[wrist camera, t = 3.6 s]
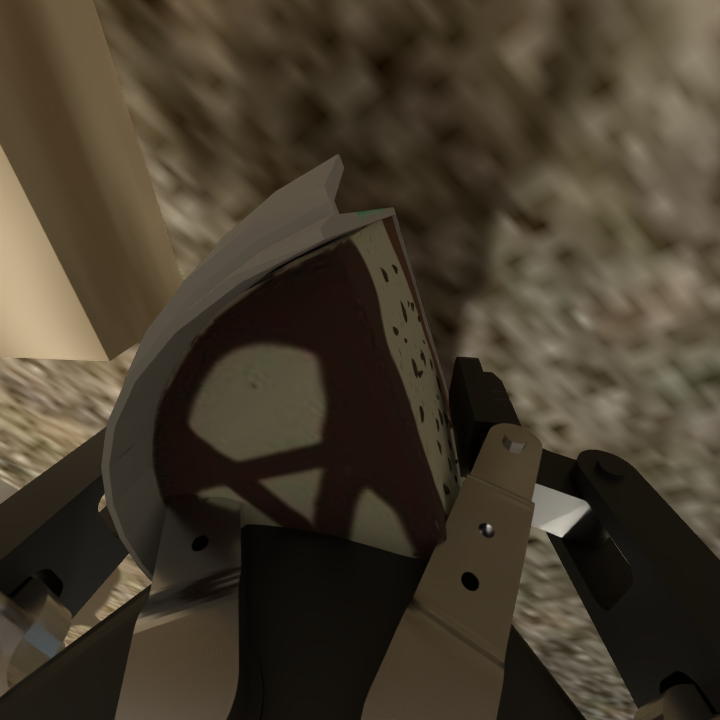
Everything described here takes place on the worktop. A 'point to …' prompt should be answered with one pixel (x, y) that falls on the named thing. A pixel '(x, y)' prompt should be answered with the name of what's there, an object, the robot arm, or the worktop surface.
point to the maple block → (73, 193)
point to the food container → (291, 385)
